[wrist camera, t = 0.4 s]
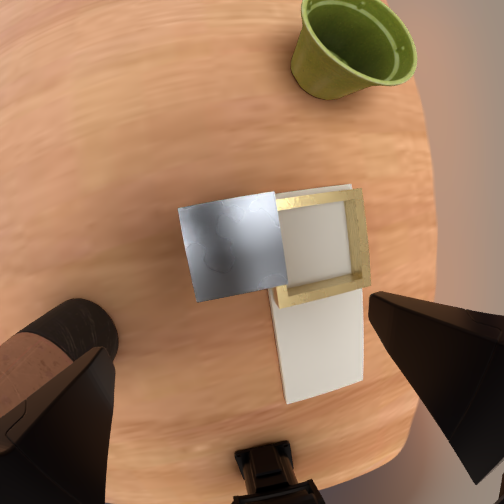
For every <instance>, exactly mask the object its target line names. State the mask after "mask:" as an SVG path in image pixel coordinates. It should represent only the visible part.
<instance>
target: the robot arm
mask: <svg viewBox="0 0 504 504" xmlns="http://www.w3.org/2000/svg"><path fill="white" fill-rule="evenodd" d="M368 317H369V321H370V323H371V324H372V326H373V328H374V329H375V331H376V333H377V335H378V336H379V338H380V340H381V342H382V343H383V345H384V347H385V349H386V350H387V352H388V353H389V355H390V356H391V358H392V359H393V361H394V362H395V363H396V365H397V366H398V367H399V369H400V370H401V372H402V373H403V374H404V376H405V377H406V379H407V380H408V382H409V383H410V384H411V386H412V387H413V389H414V390H415V392H416V393H417V394H418V396H419V397H420V399H421V400H422V402H423V403H424V404H425V406H426V408H427V409H428V411H429V412H430V413H431V415H432V417H433V418H434V420H435V421H436V423H437V424H438V426H439V427H440V428H441V430H442V432H443V433H444V434H445V436H446V438H447V439H448V440H449V443H450V444H451V446H452V447H453V449H454V451H455V452H456V454H457V456H458V457H459V459H460V460H461V462H462V463H463V465H464V467H465V469H466V470H467V472H468V474H469V475H470V477H471V479H472V480H473V482H474V483H475V485H477V484H478V483H479V482H481V481H482V480H483V479H484V478H485V477H486V476H488V475H489V474H490V473H491V472H492V471H493V470H494V469H495V468H496V467H497V466H498V465H499V464H500V463H501V462H503V460H504V316H502V315H495V314H488V313H483V312H477V311H472V310H468V309H467V310H465V309H462V308H458V307H453V306H448V305H443V304H439V303H434V302H429V301H424V300H420V299H415V298H410V297H406V296H401V295H396V294H392V293H387V292H383V291H379V292H376V293H373V294H371V295H370V297H369V311H368ZM114 387H115V367H114V364H113V362H112V360H111V358H110V356H109V354H108V352H107V350H106V349H105V348H104V347H94V348H92V349H90V350H89V351H88V352H86V353H85V354H84V355H82V356H81V357H80V358H78V359H77V360H76V361H74V362H73V363H72V364H71V365H69V366H68V367H67V368H65V369H64V370H63V371H61V372H60V373H59V374H57V375H56V376H55V377H53V378H52V379H51V380H50V381H48V382H47V383H46V384H44V385H43V386H42V387H40V388H39V389H38V390H37V391H35V392H34V393H33V394H31V395H30V396H29V397H27V400H26V399H25V400H24V401H22V402H21V403H20V404H18V405H17V406H16V407H14V408H13V409H12V410H10V411H9V412H8V413H6V414H5V415H3V416H2V417H1V418H0V504H105V486H106V471H107V459H108V448H109V439H110V431H111V423H112V416H113V407H114ZM234 455H235V459H236V461H237V464H238V466H239V469H240V472H241V474H242V477H243V479H244V480H245V483H246V488H247V494H248V495H243V496H233V499H234V501H233V502H232V503H231V504H325V502H324V500H323V498H322V496H321V494H320V492H319V491H318V489H317V487H316V485H315V484H314V482H313V480H312V479H310V480H307V481H306V482H302V483H298V482H297V479H296V477H295V474H294V471H293V462H292V455H291V448H290V444H289V442H288V441H283V442H279V443H275V444H271V445H267V446H262V447H257V448H252V449H247V450H242V451H237V452H235V453H234ZM494 504H504V473H503V475H502V483H501V488H500V494H499V499H498V500H497V501H496V502H495V503H494Z"/></svg>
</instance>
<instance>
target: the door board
mask: <svg viewBox="0 0 504 504" xmlns="http://www.w3.org/2000/svg"><path fill="white" fill-rule="evenodd" d="M348 189H352V185H351V184H345V185H337V186H329V187H321V188H313V189H306V190H298V191H291V192H284V193H278V194H275V198H276V199H283V198H289V197H296V196H303V195H310V194H317V193H324V192H332V191H340V190H348ZM278 217H279V223H280V230H281V236H282V243H283V249H284V256H285V263H286V270H287V277H288V284H287V288H292V287H296V286H301V285H305V284H310V283H314V282H318V281H322V280H327V279H331V278H335V277H339V276H343V275H347V274H351V273H352V272H351V261H350V250H349V240H348V231H347V223H346V215H345V207H344V201H338V202H331V203H324V204H317V205H311V206H304V207H298V208H292V209H285V210H279V211H278ZM268 295H269V301H270V308H271V314H272V320H273V327H274V333H275V340H276V346H277V352H278V359H279V365H280V372H281V379H282V385H283V392H284V399H285V401H286V403H287V404H290V403H294V402H297V401H301V400H305V399H308V398H311V397H315V396H318V395H321V394H324V393H327V392H331V391H334V390H337V389H339V388H342V387H345V386H348V385H351V384H354V383H356V382H359V381H362V380H363V356H364V329H363V296H362V288H361V289H357V290H353V291H350V292H346V293H342V294H338V295H335V296H331V297H327V298H323V299H319V300H315V301H311V302H307V303H303V304H299V305H294V306H290V307H286V308H281V309H279V308H278V306H277V305H276V303H275V302H274V299H273V293H272V288H268Z"/></svg>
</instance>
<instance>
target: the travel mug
mask: <svg viewBox="0 0 504 504" xmlns="http://www.w3.org/2000/svg"><path fill="white" fill-rule="evenodd" d="M94 347H104V348H105V349H106V350H107V352H108V354H109V356H110V358H111V360H112V362H113V360H114V357H115V355H116V353H117V349H118V335H117V331H116V328H115V326H114V324H113V322H112V320H111V319H110V317H109V316H108V315H107V313H106V312H105V311H104V310H103V309H102V308H100V307H99V306H98V305H96V304H95V303H93V302H91V301H88V300H85V299H71V300H68V301H65V302H63V303H62V304H60V305H58V306H57V307H55V308H54V309H52V310H51V311H49V312H47V313H46V314H44V315H43V316H41V317H40V318H38V319H37V320H35V321H34V322H32V323H31V324H29V325H28V326H26V327H25V328H23V329H22V330H20V331H19V332H17V333H16V334H15V335H13V336H12V337H11V338H9V339H8V340H7V341H6V342H4V343H3V344H2V345H1V346H0V418H1V417H2V416H3V415H5V414H6V413H8V412H9V411H10V410H12V409H13V408H14V407H16V406H17V405H18V404H20V403H21V402H22V401H24V400H25V399H26V400H27V397H29V396H30V395H31V394H33V393H34V392H35V391H37V390H38V389H39V388H40V387H42V386H43V385H44V384H46V383H47V382H48V381H50V380H51V379H52V378H53V377H55V376H56V375H57V374H59V373H60V372H61V371H63V370H64V369H65V368H67V367H68V366H69V365H71V364H72V363H73V362H74V361H76V360H77V359H78V358H80V357H81V356H82V355H84V354H85V353H86V352H88V351H89V350H90V349H92V348H94Z"/></svg>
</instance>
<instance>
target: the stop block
mask: <svg viewBox="0 0 504 504" xmlns="http://www.w3.org/2000/svg"><path fill="white" fill-rule="evenodd" d="M178 213H179V219H180V224H181V230H182V235H183V240H184V245H185V250H186V255H187V260H188V265H189V269H190V274H191V279H192V283H193V288H194V292H195V296H196V301H197V302H203V301H208V300H213V299H219V298H224V297H229V296H234V295H239V294H244V293H249V292H254V291H258V290H263V289H268V288H273V287H277V286H282V285H287V284H288V277H287V270H286V263H285V256H284V249H283V243H282V236H281V230H280V223H279V217H278V211H277V205H276V198H275V192H274V191H273V192H267V193H260V194H254V195H248V196H242V197H236V198H230V199H224V200H219V201H213V202H208V203H202V204H197V205H192V206H187V207H182V208H178Z"/></svg>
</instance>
